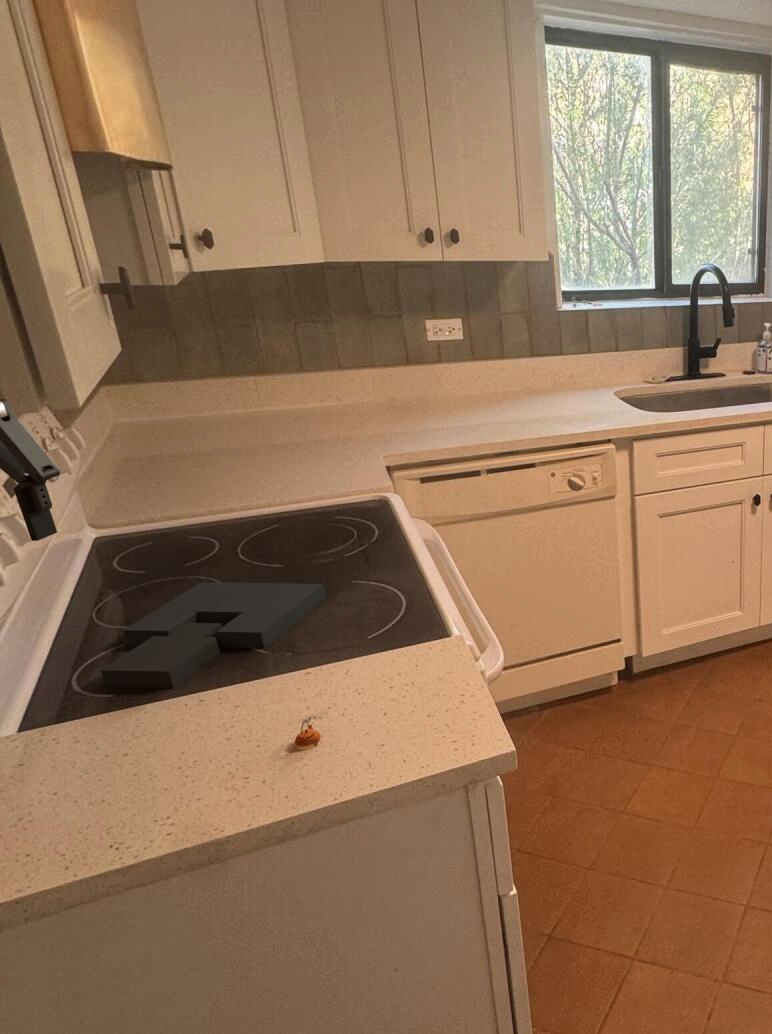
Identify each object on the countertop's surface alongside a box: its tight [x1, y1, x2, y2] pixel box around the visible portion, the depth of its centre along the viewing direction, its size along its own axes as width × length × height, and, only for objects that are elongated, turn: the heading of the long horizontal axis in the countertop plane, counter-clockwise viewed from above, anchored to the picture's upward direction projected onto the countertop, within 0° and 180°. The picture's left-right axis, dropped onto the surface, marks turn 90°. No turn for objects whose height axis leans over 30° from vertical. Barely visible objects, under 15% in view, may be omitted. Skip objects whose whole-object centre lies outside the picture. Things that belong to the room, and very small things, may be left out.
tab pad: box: [100, 623, 223, 689], centre depth 107 cm, size 9×13×4 cm
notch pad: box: [122, 581, 327, 649], centre depth 118 cm, size 20×16×4 cm
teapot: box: [294, 719, 322, 751], centre depth 92 cm, size 3×3×3 cm
